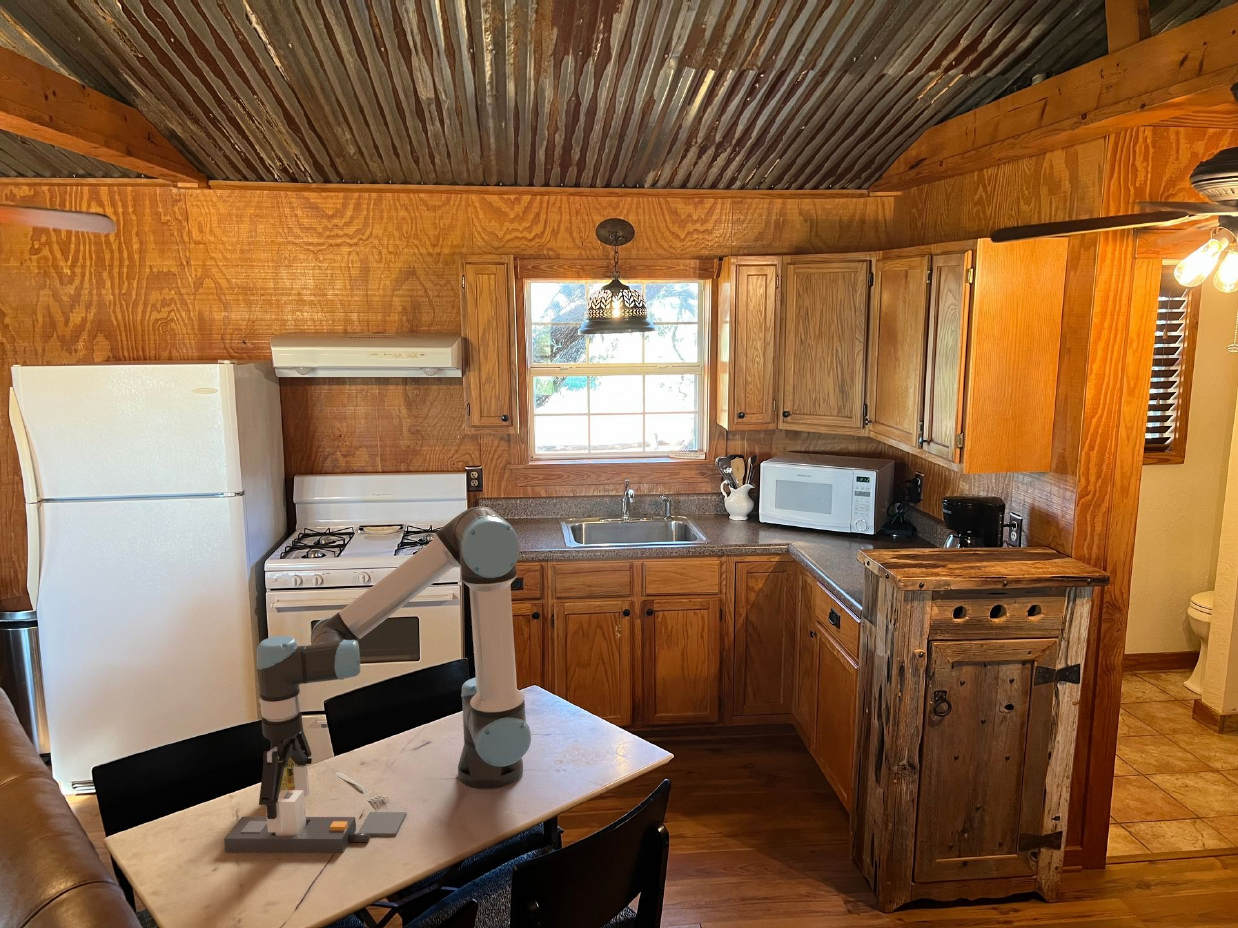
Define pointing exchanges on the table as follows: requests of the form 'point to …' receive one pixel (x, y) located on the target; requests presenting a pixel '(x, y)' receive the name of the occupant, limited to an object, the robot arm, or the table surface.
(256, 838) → the power strip
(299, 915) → the table surface
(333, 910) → the table surface
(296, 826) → the block
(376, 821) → the mat
